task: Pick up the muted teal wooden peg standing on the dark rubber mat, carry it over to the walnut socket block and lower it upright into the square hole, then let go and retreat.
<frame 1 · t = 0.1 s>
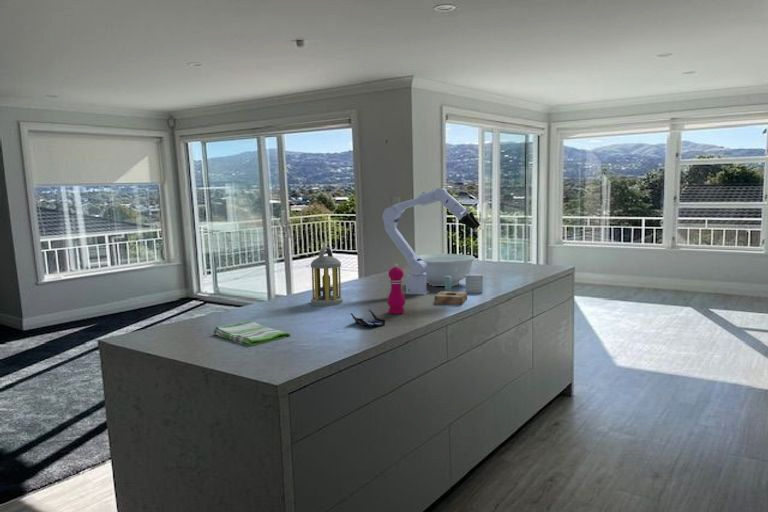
hand: (477, 227, 251), 32 cm above the countertop, tool tilted 50°, fingers open, 7 cm apart
pepper mill: (396, 313, 224), on the countertop
mat: (448, 296, 256), on the countertop
socket block: (451, 301, 243), on the countertop
lantern: (326, 302, 246), on the countertop
medicine box: (474, 293, 264), on the countertop
peg: (448, 295, 256), resting on mat
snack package: (368, 325, 205), on the countertop
bowl: (443, 285, 287), on the countertop
dish towel: (251, 337, 193), on the countertop
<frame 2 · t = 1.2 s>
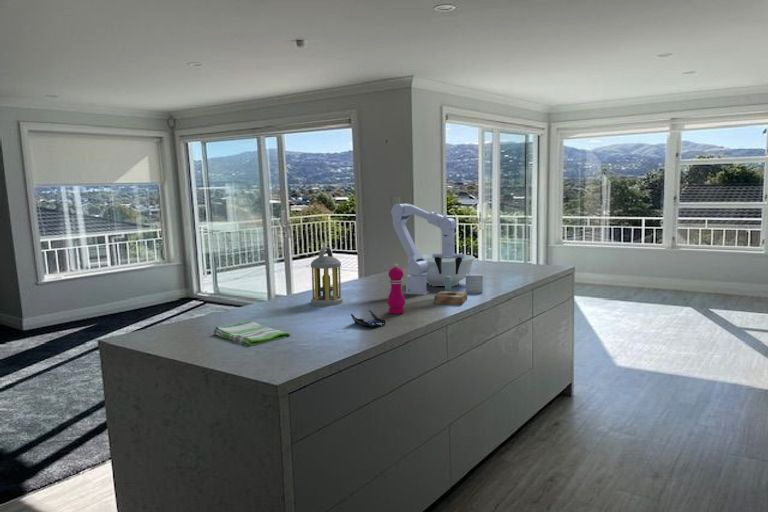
hand: (448, 273, 254), 11 cm above the countertop, tool pointing down, fingers open, 7 cm apart
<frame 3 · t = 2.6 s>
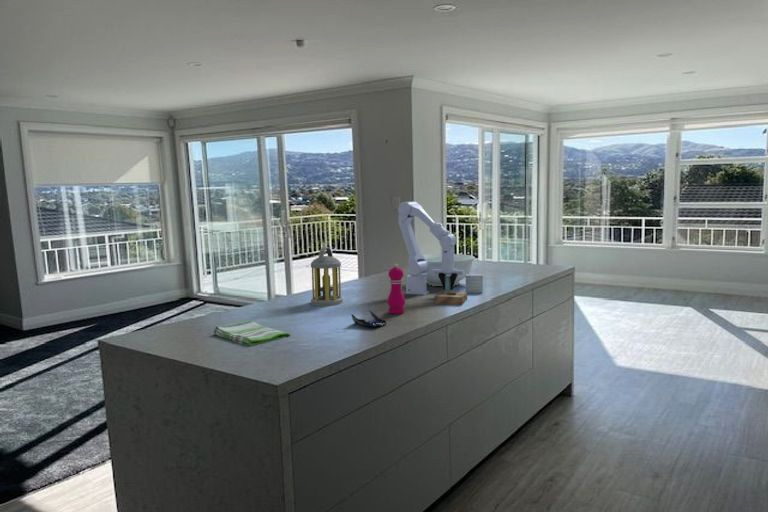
hand: (448, 289, 255), 3 cm above the countertop, tool pointing down, fingers closed on peg, 3 cm apart
peg: (448, 295, 256), resting on mat, touching gripper
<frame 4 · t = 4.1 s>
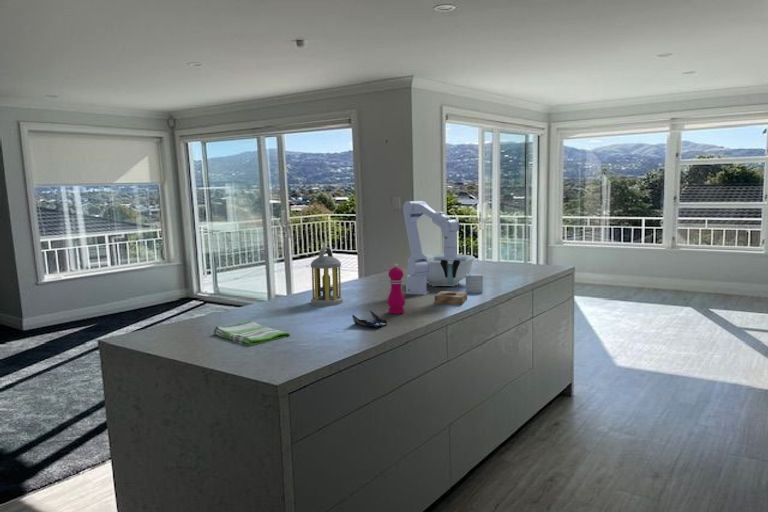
hand: (450, 277, 246), 10 cm above the countertop, tool pointing down, fingers closed on peg, 3 cm apart
peg: (450, 284, 246), point 7 cm above the countertop, touching gripper
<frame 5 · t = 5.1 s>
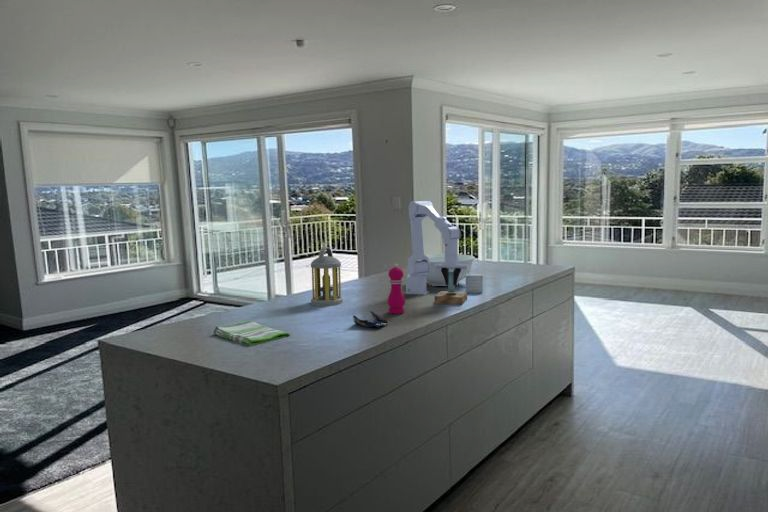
hand: (451, 285, 242), 7 cm above the countertop, tool pointing down, fingers closed on peg, 3 cm apart
peg: (451, 291, 243), point 4 cm above the countertop, touching gripper
when the fingers open (5 cm above the countertop, at t = 6.0 s): peg drops 2 cm, resting in socket block.
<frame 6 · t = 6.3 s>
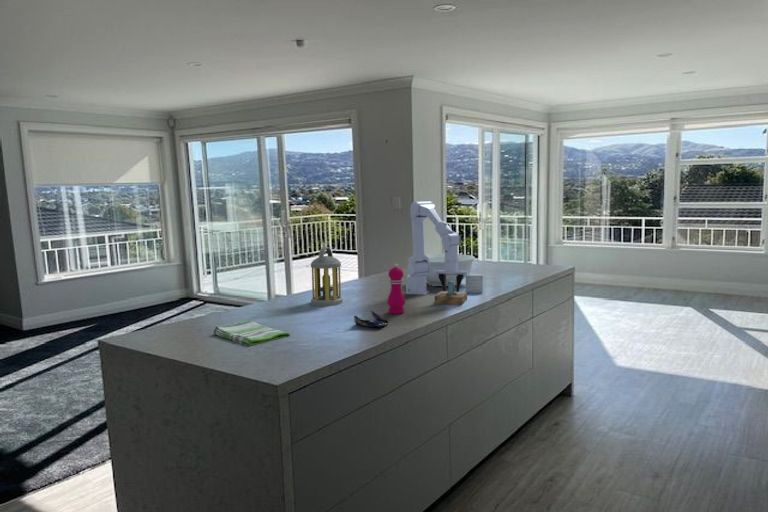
hand: (451, 291, 243), 5 cm above the countertop, tool pointing down, fingers open, 5 cm apart
peg: (451, 301, 243), resting in socket block
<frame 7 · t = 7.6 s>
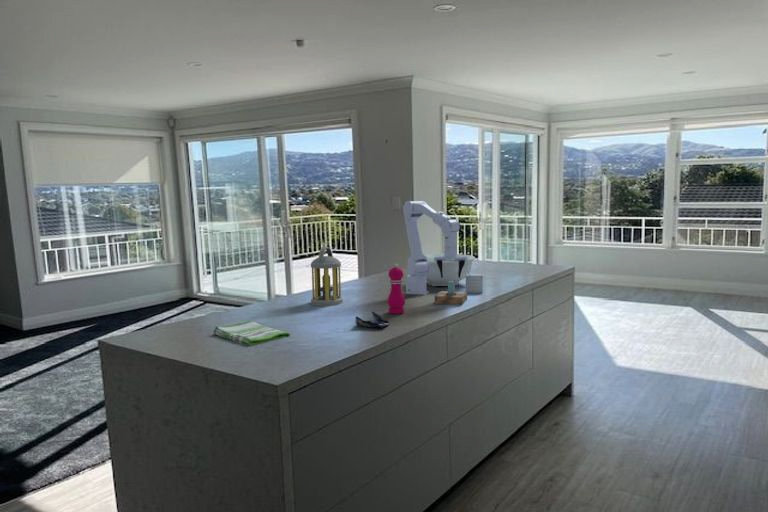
hand: (450, 277, 246), 10 cm above the countertop, tool pointing down, fingers open, 7 cm apart
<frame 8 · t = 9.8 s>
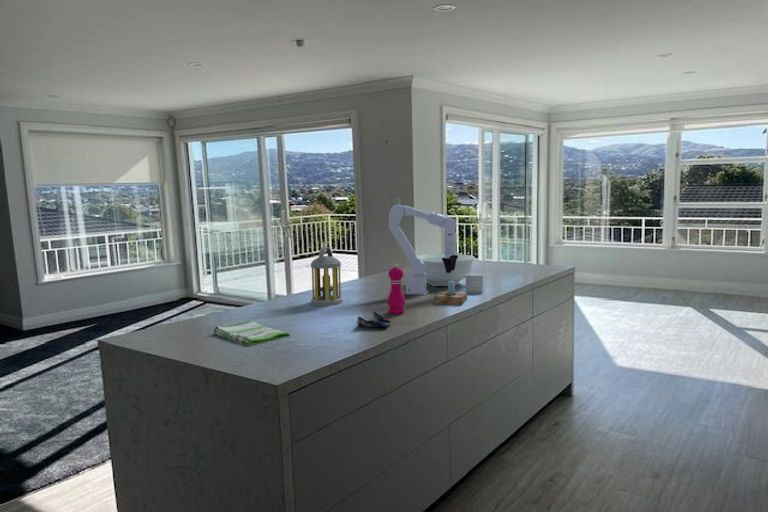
hand: (450, 271, 262), 10 cm above the countertop, tool pointing down, fingers open, 7 cm apart
at the end: peg 0.1 cm off-centre on the socket block, point 0.0 cm above the socket block's base; peg tilted 0°; the gripper is holding nothing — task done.
